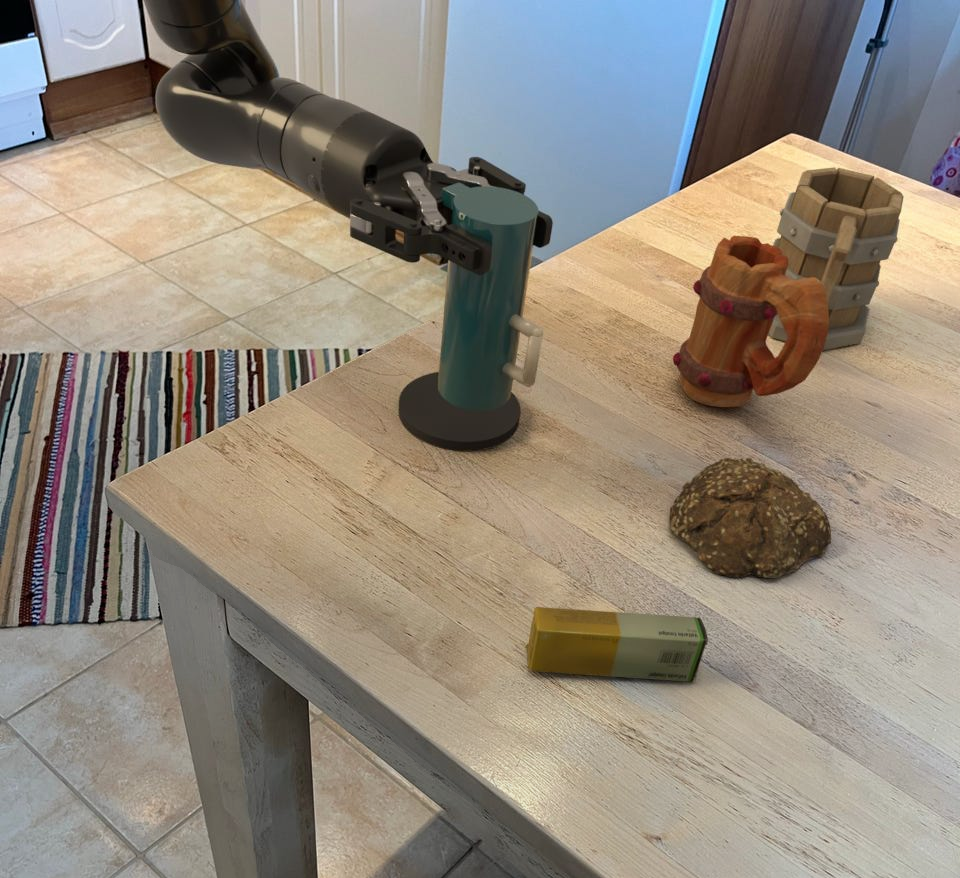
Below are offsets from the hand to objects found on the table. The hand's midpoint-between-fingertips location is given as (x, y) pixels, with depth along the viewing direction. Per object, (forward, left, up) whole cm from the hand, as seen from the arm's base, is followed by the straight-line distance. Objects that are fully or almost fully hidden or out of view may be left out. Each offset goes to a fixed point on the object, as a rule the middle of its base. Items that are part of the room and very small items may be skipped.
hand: (518, 246), depth 69 cm
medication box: (+13, -19, -20) cm, 30 cm away
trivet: (-4, +7, -20) cm, 21 cm away
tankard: (+27, +34, -20) cm, 48 cm away
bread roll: (+22, -1, -20) cm, 29 cm away
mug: (+20, +17, -20) cm, 33 cm away
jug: (-2, +1, -13) cm, 13 cm away
